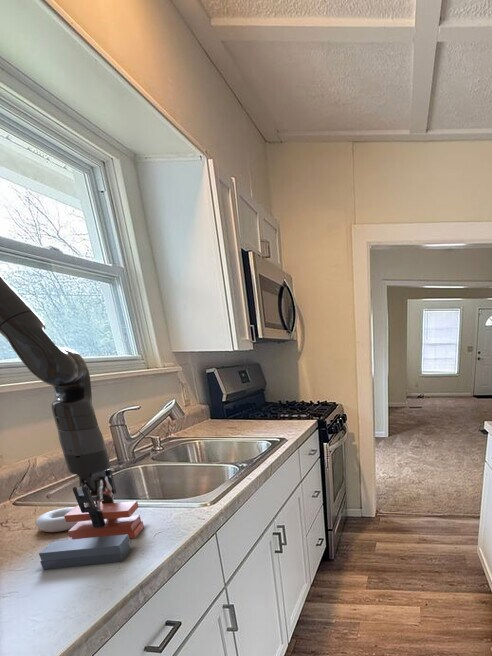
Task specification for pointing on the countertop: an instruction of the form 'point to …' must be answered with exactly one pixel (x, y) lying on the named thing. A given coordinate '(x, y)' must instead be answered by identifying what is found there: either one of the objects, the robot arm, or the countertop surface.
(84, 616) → the countertop surface
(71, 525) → the donut
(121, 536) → the grey rectangular block
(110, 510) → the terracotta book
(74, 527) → the orange-red flat block
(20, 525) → the countertop surface
